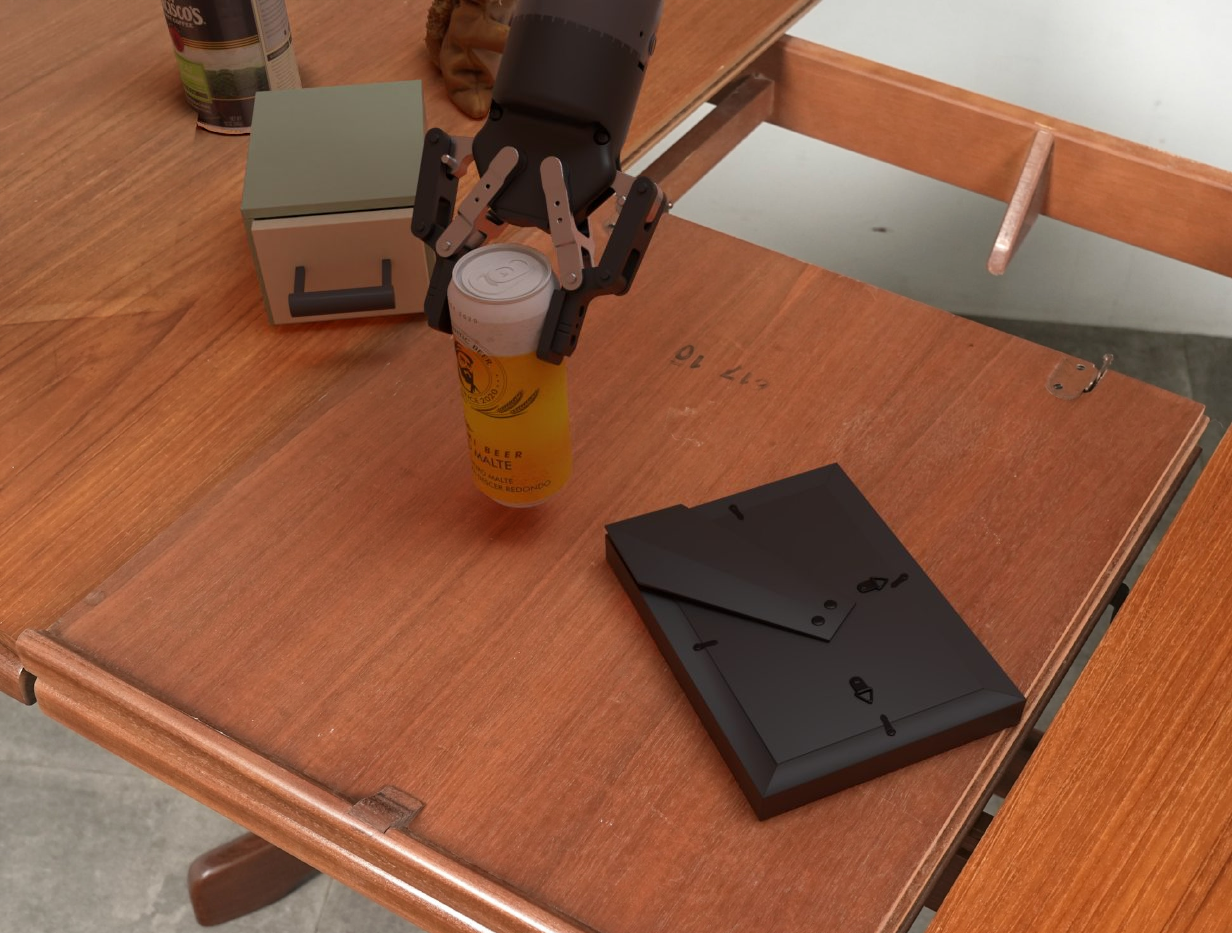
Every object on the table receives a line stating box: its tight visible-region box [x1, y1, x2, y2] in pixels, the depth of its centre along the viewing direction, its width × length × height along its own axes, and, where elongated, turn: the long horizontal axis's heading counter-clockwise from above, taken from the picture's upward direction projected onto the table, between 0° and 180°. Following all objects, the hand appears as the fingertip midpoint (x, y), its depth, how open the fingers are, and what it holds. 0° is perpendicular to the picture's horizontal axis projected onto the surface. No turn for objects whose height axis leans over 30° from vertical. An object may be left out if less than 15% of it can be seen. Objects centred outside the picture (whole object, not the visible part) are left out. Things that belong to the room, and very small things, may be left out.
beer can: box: [447, 242, 573, 508], centre depth 78 cm, size 6×6×15 cm
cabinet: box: [239, 79, 436, 327], centre depth 103 cm, size 17×13×10 cm
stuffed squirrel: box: [422, 0, 518, 119], centre depth 120 cm, size 10×14×13 cm
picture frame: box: [604, 461, 1028, 822], centre depth 78 cm, size 16×3×21 cm
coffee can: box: [160, 0, 303, 132], centre depth 117 cm, size 10×10×14 cm
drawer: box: [251, 205, 430, 325], centre depth 100 cm, size 20×11×8 cm, turn 6°
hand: (494, 345), depth 75 cm, fingers closed on beer can, 6 cm apart
